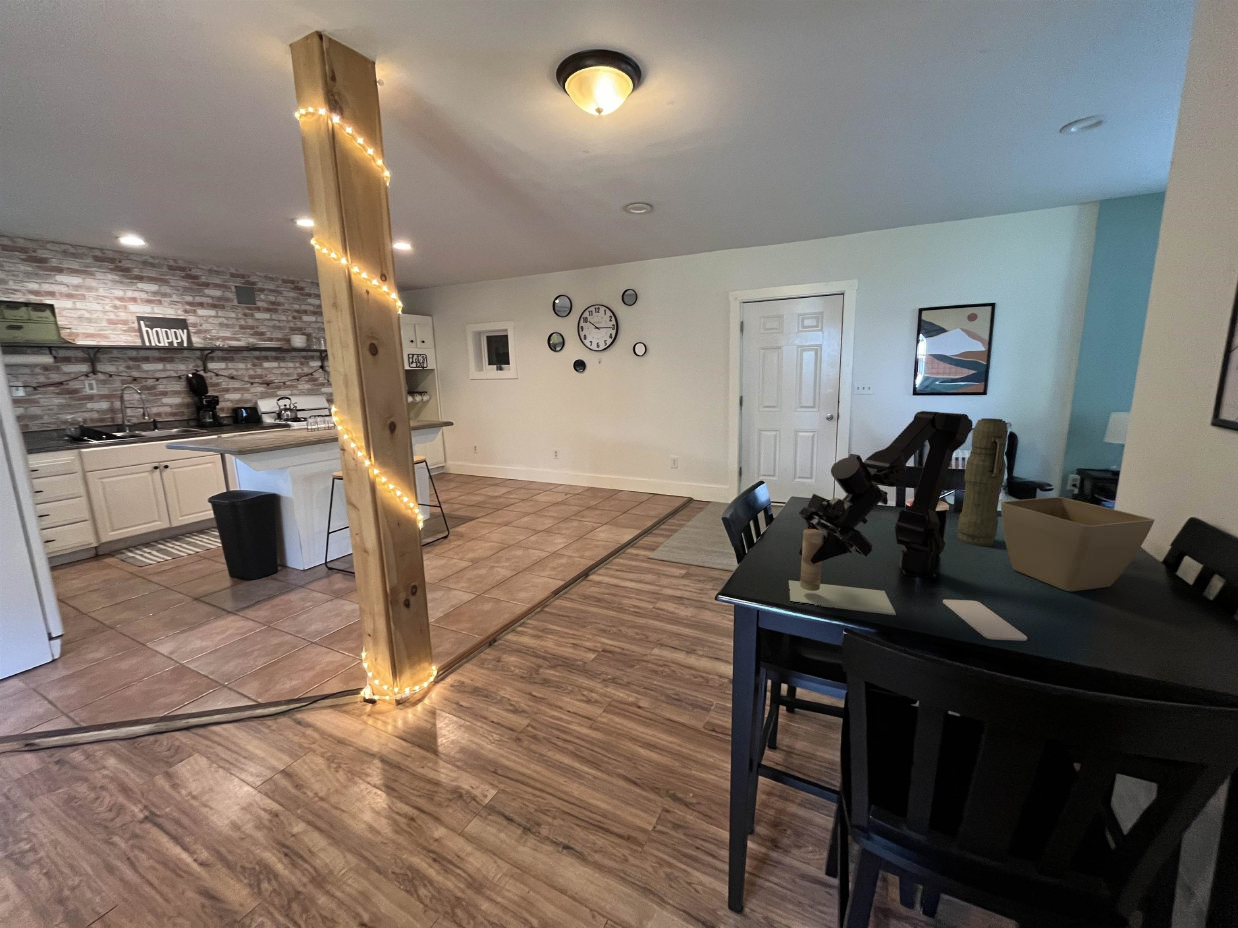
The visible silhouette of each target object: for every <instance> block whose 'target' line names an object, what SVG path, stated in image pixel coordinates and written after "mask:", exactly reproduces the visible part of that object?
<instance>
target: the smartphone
mask: <svg viewBox="0 0 1238 928" xmlns="http://www.w3.org/2000/svg"><path fill="white" fill-rule="evenodd" d="M942 603H943V604H944V605H946V607H948V608H949V609H951V611H953V612H954V613H955V614H956V615H958V617H959V618H961V619H962V620H963V621H965V622H966V623H967V624H968V625H969V626H970V627H972V628H973V629H974V630H975V631H977V632H978V634H980V635H982V636H983V637H984V638H986V639H987V640H988V639H989V640H997V641H998V640H1000V641H1002V640H1003V641H1022V642H1023V641H1024V642H1025V641H1027V640H1028V637H1027V636H1026V635H1025V634H1024V633H1023V632H1021V631H1020V630H1018V629H1017V628H1016V627H1014V626H1013V625H1011V624H1010V623H1009V622H1007V621H1006V620H1004V618H1002V617H1000V616H999V615H997V614H996V613H995V612H993V611H992V610H990V609H989V608H988V607H986V606H985V605H984V604H982V603H981V602H980V601H977V600H966V599H962V600H961V599H943V600H942Z"/></svg>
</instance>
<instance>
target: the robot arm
mask: <svg viewBox="0 0 1238 928" xmlns="http://www.w3.org/2000/svg"><path fill="white" fill-rule="evenodd" d="M972 430H973V420H972V419H970V417H969V416H968V415H967V414H965V413H955V412H939V411H932V410H931V411H927V410H921V411H917V412H916V413H915V414H914V416H913V419H912V420H911V422H909V424H908V425H907V426H906V427H905V428H904V429H903V430H902V431H901V432H900V433H899V434H898V436H896V437H895V439H894V440H892V442H891V443H890V444H889V445H888V446H886V447H885V448H883V449H881V450H877V451H875V452H873V453H872V454H871V455H869V456H868V457H866V459H864V461H863V458H862V457H861V456H860V454H856V453H849V455H848V457H844V458H841V459H839V460H838V461H837V462H834V463H833V465H832V466H831V469H830V474H831V476H832V477H833V478H834V480H835V481H836V482H837V484H838V485H839V487H840V488H841V489H842V491H843V492H844V493H846V495H845V496H844V497H843V498H842V499H841V498H838V497H832V498H831V499H827V498H825V497H823V496H820V495H818V494H817V493H816V494H815V493H813V494H812V496H811V498H810V499H809V501H808V504H807V506H805V507H803V508H802V509H801V510H800V511H799V512H798V515H799V516H800V517H801V518H802V519H803V520H804V522H805V523H806V525H807V529H816V530H820V531H822V532H823V533H824V537H823V545H822V546H821V547H820V548H819V549H818V551H817V552H816V553H815V554H814V556H813V557H812V558H811V560H810V561H811V562H812V563H813V564H816V563H818V562H821V561H822V562H824V561H826V560H829V559H833V558H835V557H838V556H842V555H845V554H851V555H852V553H853V551H852V549H853V548H855V551H854V552H855V553H856V554H858V555H860V556H862V557H863V558H867V557H868V556H869V555H870V554H871V553H872V551H873V544H872V543H871V541H869V540H868V538H866V537H865V535H864V534H863V533H862V532H861V531H859V530H858V529H856V528H857V526H858V525H860V524H863V525H866V524H867V523H868V522H869V520H868V519H867V518H866V517H867V516H868V515H869V514H870V513H871V512H872V511H873V510H874V509H875V507H876V506H877V505H879V503H880V504H883V505H885V506H887V505H888V504H889V503H888V501H889V500H888V493H889V492H887V491H885V490H882V489H881V487H879V486H884V487H889V488H894V487H896V486H897V485H899V483H900V482H901V481H902V479H903V478H904V476H905V475H906V473H907V464H908V462H909V460H910V459H911V458H912V457H913V456H914V455H915V454H916V453H917V452H918V450H919V449H920V448H921V447H922V446H923V445H924V444H925V443H926V442H927V443H928V446H929V447H928V452H927V454H926V458H925V461H924V464H923V468H922V471H921V474H920V478H919V481H918V484H917V488H916V491H915V493H914V498H913V500H912V504H911V505H910V506H909V507H907V508H906V509H901V510H900V511H899V513H898V518H897V520H896V522H895V526H894V532H895V538H896V544H897V545H901V546H902V549H900V551H899V558H898V566H899V568H900V569H901V570H902V572H903V574H904V575H906V576H911V577H913V576H914V577H923V578H932V579H935V578H937V574H935V563H936V555H938V556H939V555H942V553H943V551H944V550H945V547H946V542H945V540H944V538H943V537H942V535H941V533H940V532H939V531H940V527H941V522H940V520H939V516H938V514H937V508H938V504H939V501H940V499H941V496H942V495H941V494H942V492H943V487H944V485H945V482H946V478H947V475H948V471H949V468H950V466H951V462H952V459H953V455H954V453H955V452H956V451H958V450H959V448H960V447H962V446H963V445H965V444H966V442H967V439H968V437H969V434H970V433H971V432H972ZM825 534H826V535H825ZM800 547H801V548H800V550H799V551H798V554H799V555H800V556H801V557H802V548H803V544H801V546H800Z"/></svg>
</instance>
